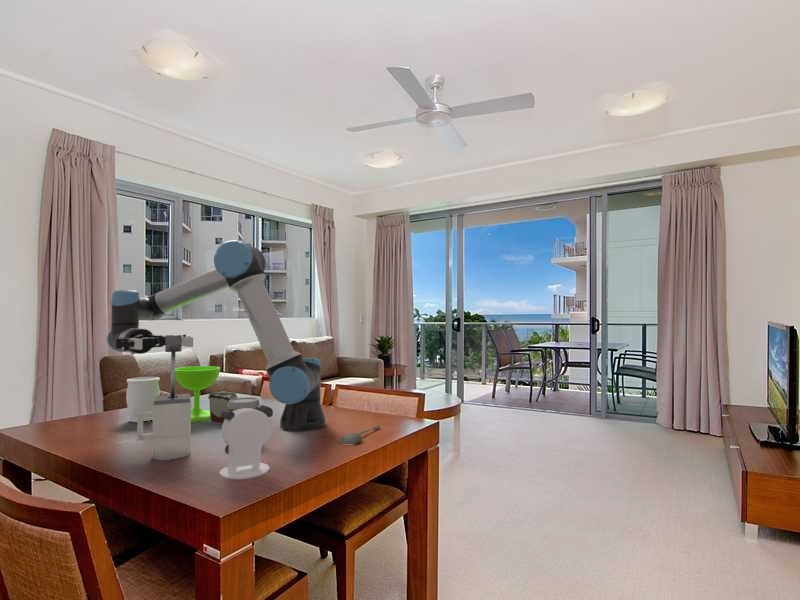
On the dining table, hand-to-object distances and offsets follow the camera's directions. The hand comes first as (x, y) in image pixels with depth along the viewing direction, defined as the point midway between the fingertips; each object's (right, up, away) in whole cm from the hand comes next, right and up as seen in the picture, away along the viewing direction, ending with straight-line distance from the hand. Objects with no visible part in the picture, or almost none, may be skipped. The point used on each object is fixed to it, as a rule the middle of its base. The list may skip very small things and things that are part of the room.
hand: (167, 343), depth 127 cm
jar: (-29, -32, +40) cm, 58 cm away
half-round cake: (+2, -32, +37) cm, 49 cm away
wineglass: (-12, -32, +45) cm, 56 cm away
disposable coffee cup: (+16, -31, +13) cm, 37 cm away
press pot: (+1, -30, -3) cm, 30 cm away
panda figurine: (+26, -30, -15) cm, 42 cm away
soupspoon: (+52, -31, +17) cm, 63 cm away
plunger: (+2, -15, -2) cm, 15 cm away
